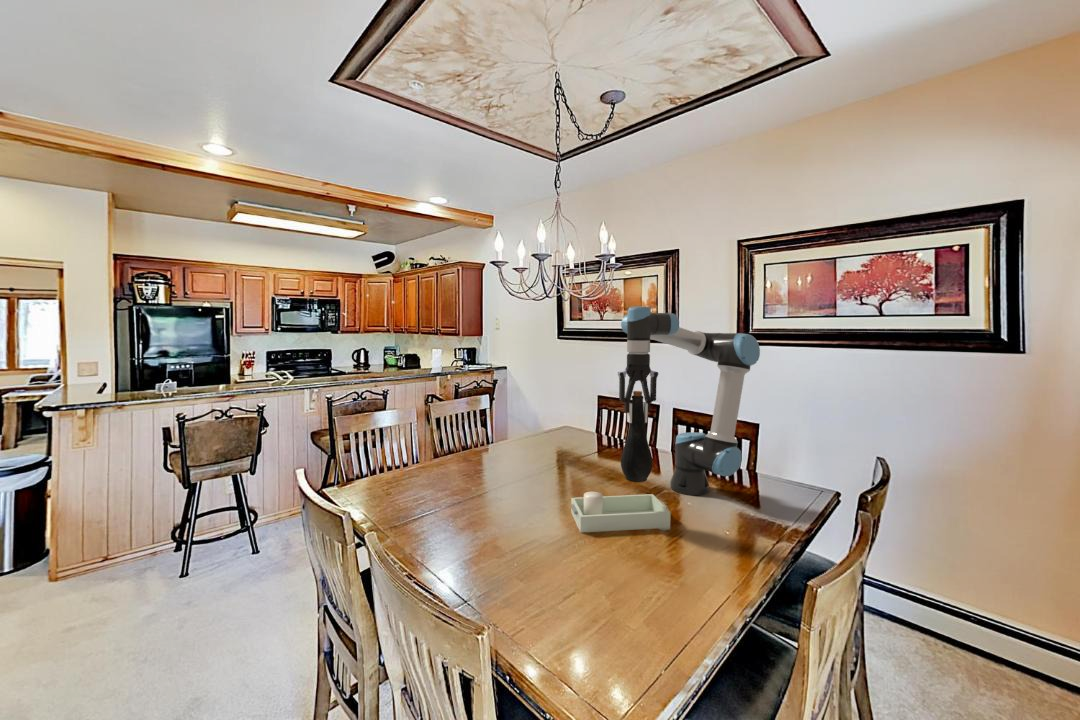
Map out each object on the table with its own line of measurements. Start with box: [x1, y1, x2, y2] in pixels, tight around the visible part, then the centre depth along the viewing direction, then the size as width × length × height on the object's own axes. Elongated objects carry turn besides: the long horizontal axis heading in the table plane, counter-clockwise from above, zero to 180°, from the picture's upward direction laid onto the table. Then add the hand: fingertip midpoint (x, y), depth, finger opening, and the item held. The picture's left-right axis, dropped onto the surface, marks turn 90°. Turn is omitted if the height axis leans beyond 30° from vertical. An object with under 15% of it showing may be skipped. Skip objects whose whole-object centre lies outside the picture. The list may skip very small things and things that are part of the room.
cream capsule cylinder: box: [583, 491, 604, 515], centre depth 154 cm, size 6×6×9 cm
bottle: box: [620, 390, 653, 483], centre depth 154 cm, size 11×11×30 cm
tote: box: [570, 493, 672, 534], centre depth 156 cm, size 32×16×6 cm, turn 97°
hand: (637, 421), depth 154 cm, fingers closed on bottle, 5 cm apart
